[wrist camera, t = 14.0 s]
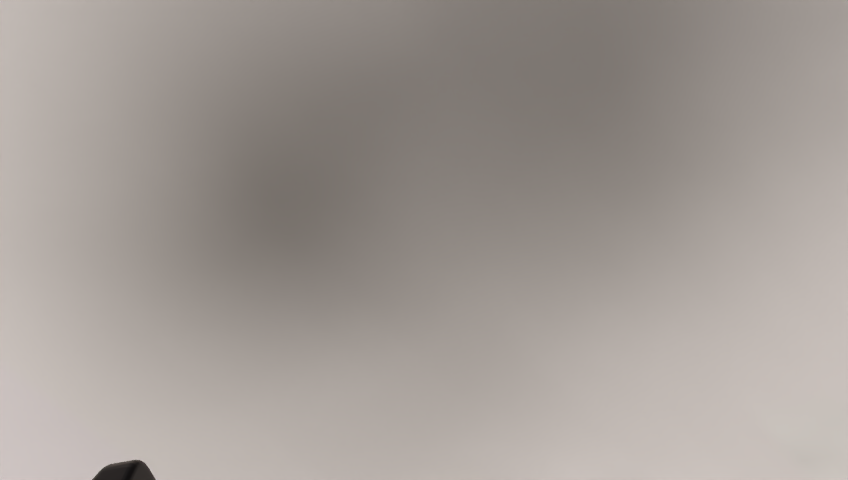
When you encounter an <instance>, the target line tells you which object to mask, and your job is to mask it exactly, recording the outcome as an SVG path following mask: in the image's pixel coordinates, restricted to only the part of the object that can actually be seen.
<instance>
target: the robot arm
mask: <svg viewBox="0 0 848 480" xmlns="http://www.w3.org/2000/svg"><path fill="white" fill-rule="evenodd" d="M92 480H156V479H155V478H154V476H153V474H152V473H151V471H150V469H149V468H148V466H147V465H146V464H145V463H144V462H142V461H140V460H132V461H126V462H120V463H114V464H110V465H108V466H106V467H104V468H103V469H102V470H101V471H100V472H99V473H98V474H97V475H96V476H95V477H94V478H93V479H92Z"/></svg>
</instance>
